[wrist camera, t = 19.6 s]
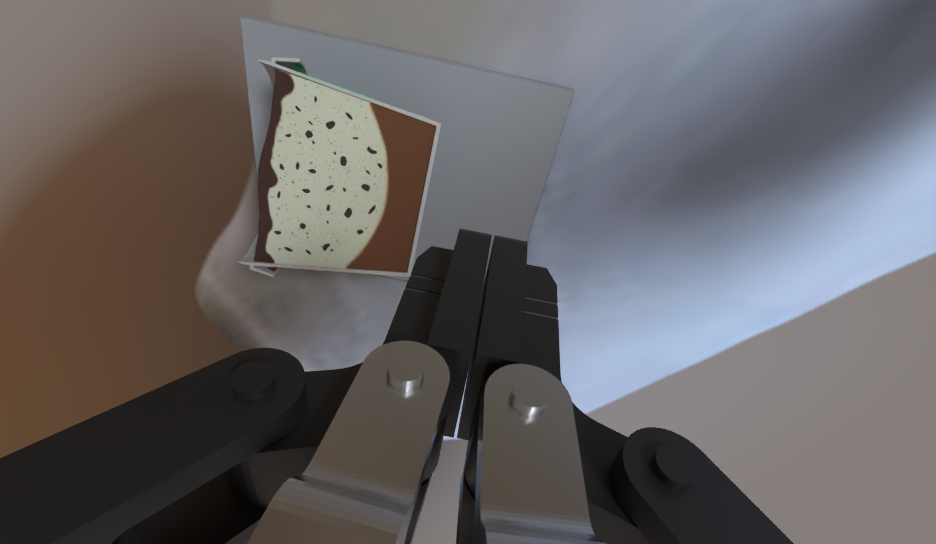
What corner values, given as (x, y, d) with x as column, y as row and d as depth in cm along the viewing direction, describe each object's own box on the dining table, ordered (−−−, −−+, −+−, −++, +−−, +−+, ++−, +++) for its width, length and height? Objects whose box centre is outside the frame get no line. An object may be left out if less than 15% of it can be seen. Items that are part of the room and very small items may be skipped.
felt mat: (573, 89, 28) (573, 91, 27) (507, 296, 38) (507, 301, 38) (245, 15, 27) (240, 17, 27) (268, 248, 37) (265, 252, 37)
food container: (438, 102, 31) (287, 64, 30) (446, 95, 26) (258, 48, 24) (405, 271, 35) (267, 246, 33) (406, 299, 29) (237, 271, 27)
